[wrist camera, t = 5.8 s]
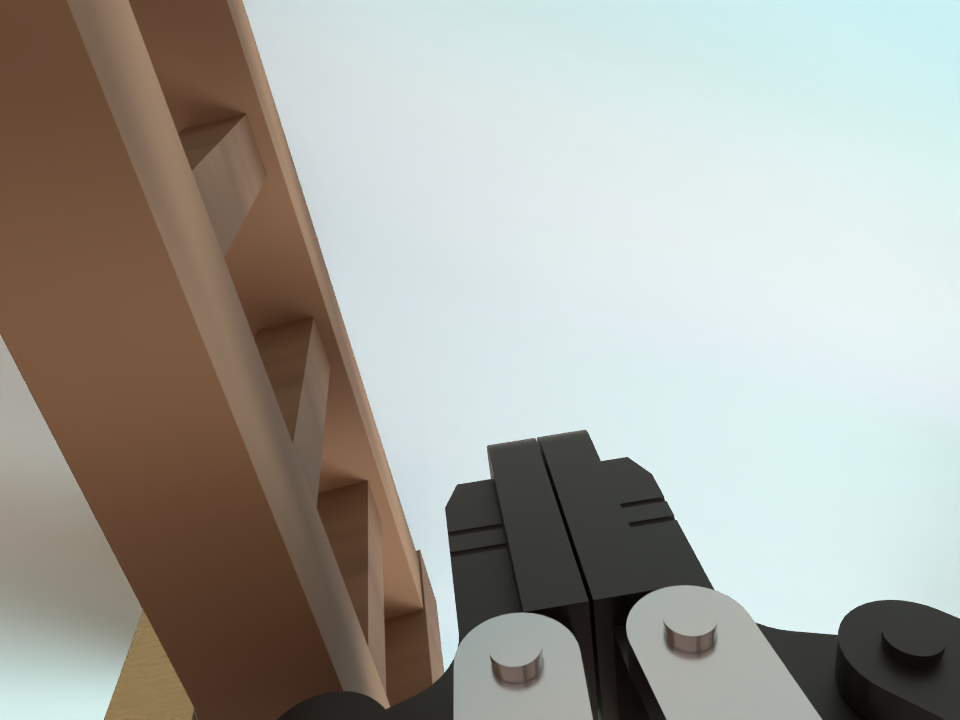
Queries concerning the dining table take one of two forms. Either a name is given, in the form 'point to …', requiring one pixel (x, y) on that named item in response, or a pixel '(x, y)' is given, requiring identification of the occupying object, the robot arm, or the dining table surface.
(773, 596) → the dining table surface
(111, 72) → the walnut gate
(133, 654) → the post
